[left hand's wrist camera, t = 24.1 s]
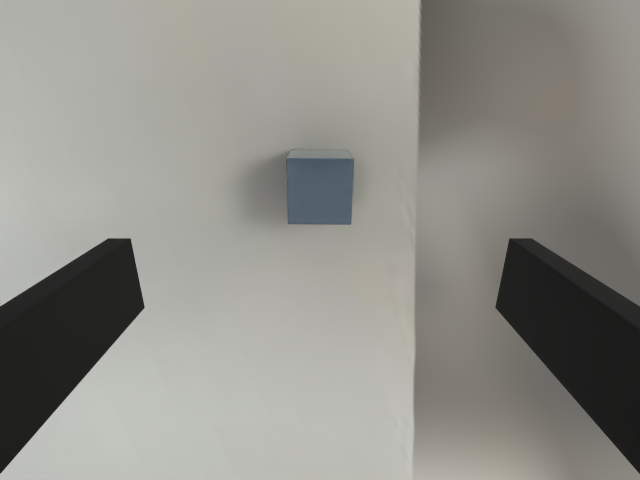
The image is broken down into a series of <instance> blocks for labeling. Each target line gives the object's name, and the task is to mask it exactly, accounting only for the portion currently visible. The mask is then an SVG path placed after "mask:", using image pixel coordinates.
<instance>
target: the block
mask: <svg viewBox="0 0 640 480" xmlns="http://www.w3.org/2000/svg"><path fill="white" fill-rule="evenodd" d="M353 170H354V158H353V157H352V155H351V154H350V152H349V151H348V150H292V151H291V152H290V154H289V155H288V157H287V201H288V224H340V225H350V224H351V216H352V193H353Z"/></svg>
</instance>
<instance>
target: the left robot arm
mask: <svg viewBox="0 0 640 480" xmlns="http://www.w3.org/2000/svg"><path fill="white" fill-rule="evenodd" d="M144 308H145V307H144V303H143V298H142V293H141V288H140V283H139V278H138V273H137V268H136V263H135V258H134V253H133V248H132V243H131V239H107V240H105V241H104V242H102V243H101V244H99V245H97V246H96V247H94V248H93V249H91V250H89V251H88V252H86V253H85V254H83V255H81V256H80V257H78V258H77V259H75V260H73V261H72V262H70V263H69V264H67V265H66V266H64V267H62V268H61V269H59V270H58V271H56V272H54V273H53V274H51V275H50V276H48V277H46V278H45V279H43V280H42V281H40V282H39V283H37V284H35V285H34V286H32V287H31V288H29V289H27V290H26V291H24V292H23V293H21V294H19V295H18V296H16V297H15V298H13V299H11V300H10V301H8V302H7V303H5V304H4V305H2V306H0V473H1V472H2V471H3V470H4V469H5V468H6V467H7V465H8V464H9V463H10V462H11V461H12V460H13V458H14V457H15V456H16V455H17V454H18V453H19V452H20V450H21V449H22V448H23V447H24V446H25V445H26V444H27V442H28V441H29V440H30V439H31V438H32V437H33V435H34V434H35V433H36V432H37V431H38V430H39V429H40V427H41V426H42V425H43V424H44V423H45V422H46V420H47V419H48V418H49V417H50V416H51V415H52V414H53V412H54V411H55V410H56V409H57V408H58V407H59V405H60V404H61V403H62V402H63V401H64V400H65V399H66V397H67V396H68V395H69V394H70V393H71V392H72V391H73V389H74V388H75V387H76V386H77V385H78V384H79V382H80V381H81V380H82V379H83V378H84V377H85V376H86V374H87V373H88V372H89V371H90V370H91V369H92V367H93V366H94V365H95V364H96V363H97V362H98V361H99V359H100V358H101V357H102V356H103V355H104V354H105V353H106V351H107V350H108V349H109V348H110V347H111V346H112V344H113V343H114V342H115V341H116V340H117V339H118V338H119V336H120V335H121V334H122V333H123V332H124V331H125V329H126V328H127V327H128V326H129V325H130V324H131V323H132V321H133V320H134V319H135V318H136V317H137V316H138V315H139V313H140V312H141V311H142V310H143V309H144ZM496 309H497V310H498V311H499V312H500V313H501V314H502V316H503V317H504V318H505V319H506V320H507V321H508V323H509V324H510V325H511V326H512V327H513V328H514V329H515V331H516V332H517V333H518V334H519V335H520V336H521V338H522V339H523V340H524V341H525V342H526V343H527V344H528V346H529V347H530V348H531V349H532V350H533V351H534V353H535V354H536V355H537V356H538V357H539V358H540V359H541V361H542V362H543V363H544V364H545V365H546V366H547V367H548V369H549V370H550V371H551V372H552V373H553V374H554V376H555V377H556V378H557V379H558V380H559V381H560V382H561V384H562V385H563V386H564V387H565V388H566V389H567V391H568V392H569V393H570V394H571V395H572V396H573V397H574V399H575V400H576V401H577V402H578V403H579V404H580V405H581V407H582V408H583V409H584V410H585V411H586V412H587V413H588V415H589V416H590V417H591V418H592V419H593V420H594V422H595V423H596V424H597V425H598V426H599V427H600V429H601V430H602V431H603V432H604V433H605V434H606V435H607V437H608V438H609V439H610V440H611V441H612V442H613V443H614V445H615V446H616V447H617V448H618V449H619V450H620V452H621V453H622V454H623V455H624V456H625V457H626V458H627V460H628V461H629V462H630V463H631V464H632V465H633V466H634V468H635V469H636V470H637V471H638V472H639V473H640V306H638V305H636V304H635V303H633V302H632V301H630V300H629V299H627V298H625V297H624V296H622V295H621V294H619V293H617V292H616V291H614V290H613V289H611V288H609V287H608V286H606V285H605V284H603V283H601V282H600V281H598V280H597V279H595V278H594V277H592V276H590V275H589V274H587V273H586V272H584V271H582V270H581V269H579V268H578V267H576V266H574V265H573V264H571V263H570V262H568V261H567V260H565V259H563V258H562V257H560V256H559V255H557V254H555V253H554V252H552V251H551V250H549V249H547V248H546V247H544V246H543V245H541V244H539V243H538V242H536V241H535V240H533V239H509V243H508V248H507V253H506V258H505V263H504V268H503V273H502V278H501V283H500V288H499V293H498V298H497V302H496Z"/></svg>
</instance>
